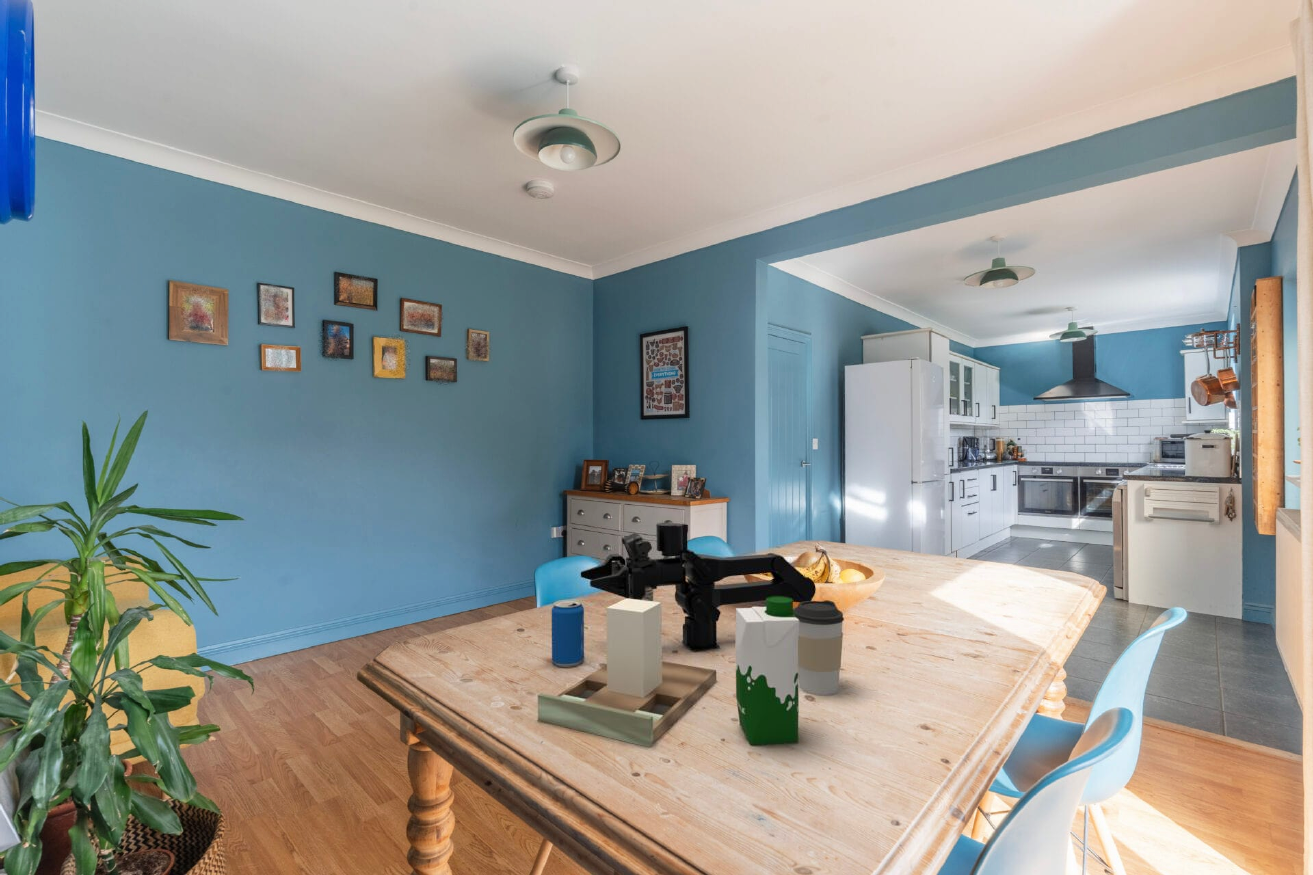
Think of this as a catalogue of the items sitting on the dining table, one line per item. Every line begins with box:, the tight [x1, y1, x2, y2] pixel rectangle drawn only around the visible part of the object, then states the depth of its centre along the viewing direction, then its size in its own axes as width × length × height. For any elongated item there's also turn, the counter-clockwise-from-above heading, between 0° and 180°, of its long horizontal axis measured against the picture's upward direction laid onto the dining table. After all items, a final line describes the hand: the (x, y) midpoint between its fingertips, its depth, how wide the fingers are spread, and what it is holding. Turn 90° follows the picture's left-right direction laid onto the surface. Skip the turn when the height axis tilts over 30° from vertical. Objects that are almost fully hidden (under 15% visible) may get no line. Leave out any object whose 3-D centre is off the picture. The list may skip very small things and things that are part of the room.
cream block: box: [606, 598, 663, 698], centre depth 103 cm, size 7×7×14 cm
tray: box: [537, 660, 717, 748], centre depth 103 cm, size 27×20×4 cm
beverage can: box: [551, 598, 585, 668], centre depth 121 cm, size 6×6×12 cm
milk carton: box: [735, 596, 800, 746], centre depth 90 cm, size 9×9×20 cm
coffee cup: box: [793, 599, 845, 696], centre depth 107 cm, size 9×9×15 cm
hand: (585, 578), depth 122 cm, fingers open, 9 cm apart
